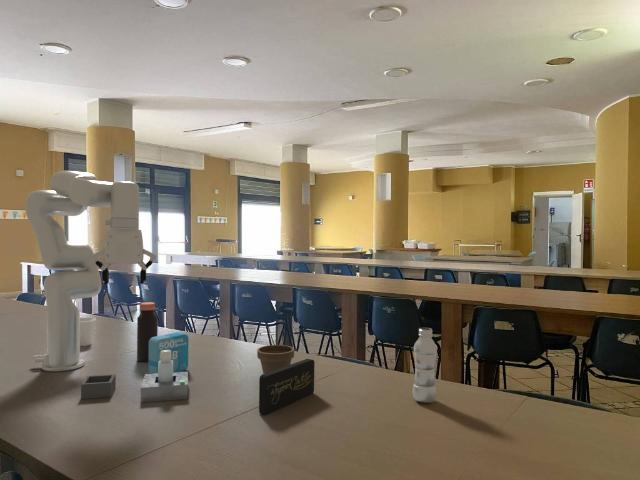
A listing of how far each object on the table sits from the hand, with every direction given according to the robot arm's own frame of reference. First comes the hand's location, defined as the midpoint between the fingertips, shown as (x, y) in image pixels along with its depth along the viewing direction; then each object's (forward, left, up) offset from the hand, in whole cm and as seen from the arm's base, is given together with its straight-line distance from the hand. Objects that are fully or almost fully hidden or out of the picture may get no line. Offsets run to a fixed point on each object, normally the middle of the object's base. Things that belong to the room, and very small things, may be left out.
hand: (124, 283), depth 137 cm
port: (+12, -8, -30) cm, 34 cm away
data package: (+12, +12, -31) cm, 35 cm away
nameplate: (+44, -23, -31) cm, 58 cm away
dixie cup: (-22, +57, -31) cm, 68 cm away
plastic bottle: (+81, -30, -31) cm, 92 cm away
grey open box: (-6, -4, -30) cm, 31 cm away
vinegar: (+4, +29, -31) cm, 42 cm away
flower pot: (+44, -4, -31) cm, 54 cm away
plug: (+12, -8, -30) cm, 34 cm away
